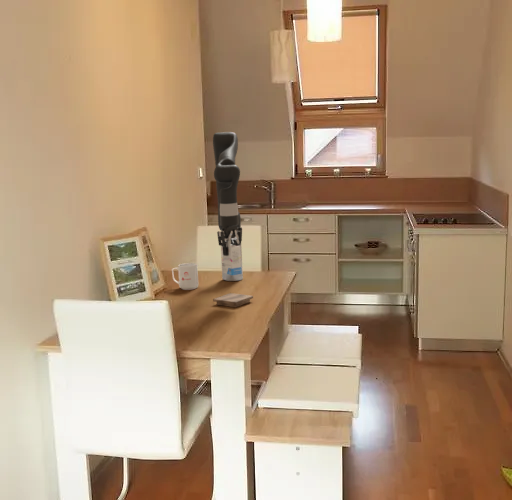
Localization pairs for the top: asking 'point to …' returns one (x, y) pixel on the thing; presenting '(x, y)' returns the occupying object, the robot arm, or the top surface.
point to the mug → (187, 276)
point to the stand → (233, 300)
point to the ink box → (231, 260)
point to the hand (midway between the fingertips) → (231, 254)
